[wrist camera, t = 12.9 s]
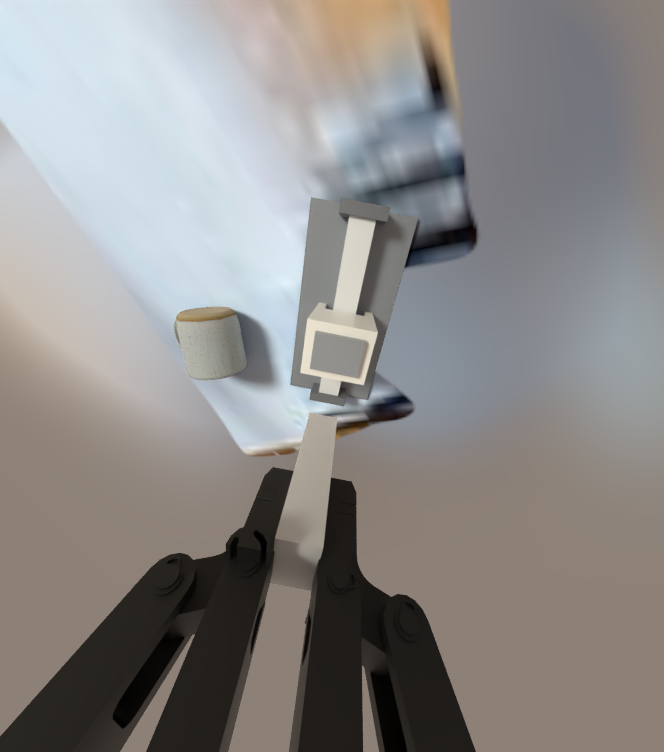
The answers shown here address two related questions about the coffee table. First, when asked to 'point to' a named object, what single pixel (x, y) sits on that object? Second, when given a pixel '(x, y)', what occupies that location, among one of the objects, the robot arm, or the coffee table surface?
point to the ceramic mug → (210, 342)
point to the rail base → (328, 278)
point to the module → (338, 344)
